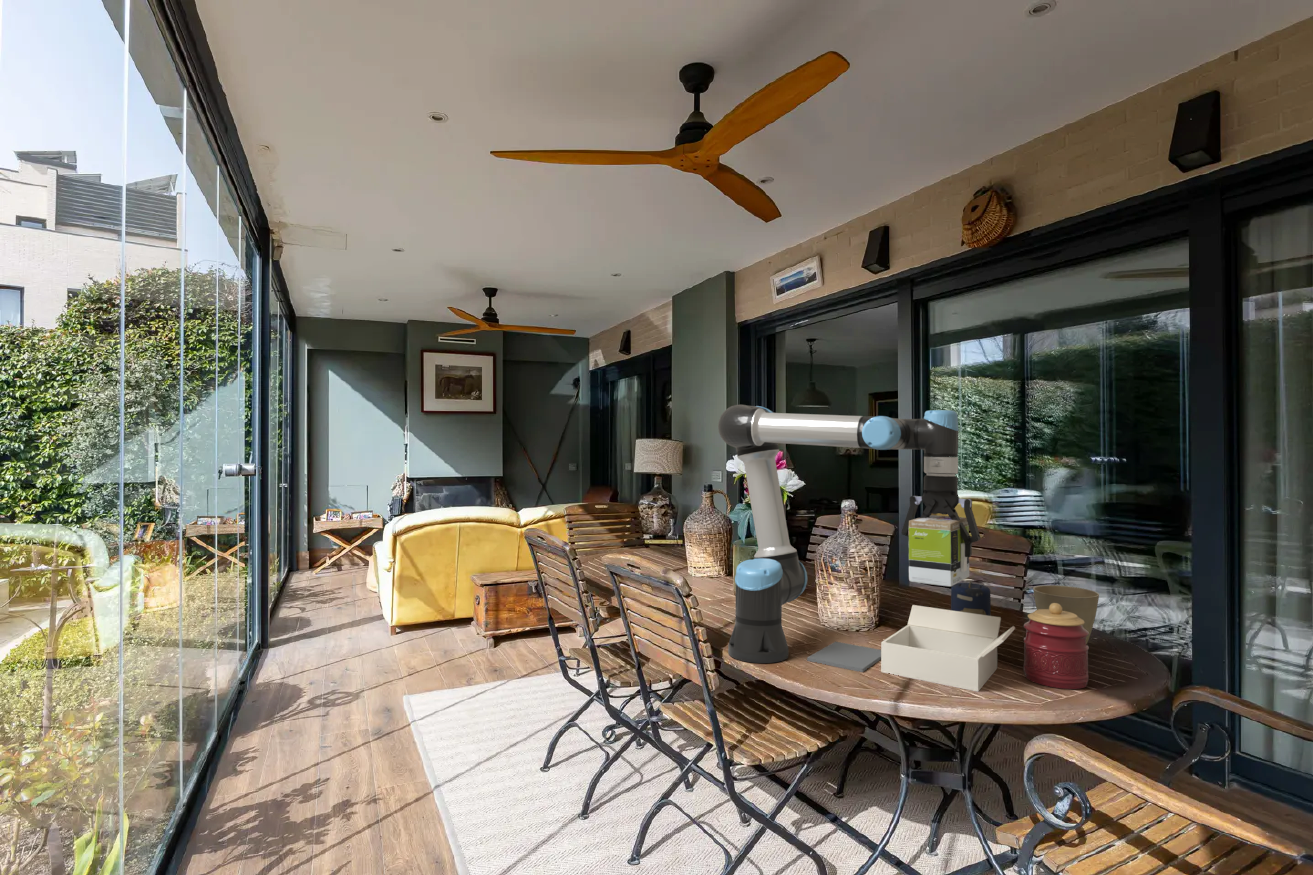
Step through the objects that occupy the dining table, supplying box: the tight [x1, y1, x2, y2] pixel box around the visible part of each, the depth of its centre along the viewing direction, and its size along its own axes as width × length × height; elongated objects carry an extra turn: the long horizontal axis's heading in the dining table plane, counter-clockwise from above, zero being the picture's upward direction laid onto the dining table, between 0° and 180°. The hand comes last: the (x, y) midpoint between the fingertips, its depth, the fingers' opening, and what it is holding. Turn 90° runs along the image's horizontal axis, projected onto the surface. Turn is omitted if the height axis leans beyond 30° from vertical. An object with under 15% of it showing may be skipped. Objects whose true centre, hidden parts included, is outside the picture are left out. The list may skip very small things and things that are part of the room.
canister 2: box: [1022, 603, 1090, 690], centre depth 160 cm, size 13×13×18 cm
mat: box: [806, 641, 881, 673], centre depth 176 cm, size 14×18×1 cm
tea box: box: [908, 514, 970, 587], centre depth 167 cm, size 15×10×15 cm
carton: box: [880, 604, 1016, 692], centre depth 167 cm, size 26×25×12 cm
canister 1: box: [950, 581, 992, 616], centre depth 183 cm, size 10×10×18 cm
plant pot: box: [1032, 584, 1100, 646], centre depth 182 cm, size 15×15×16 cm
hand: (939, 568), depth 167 cm, fingers closed on tea box, 10 cm apart
